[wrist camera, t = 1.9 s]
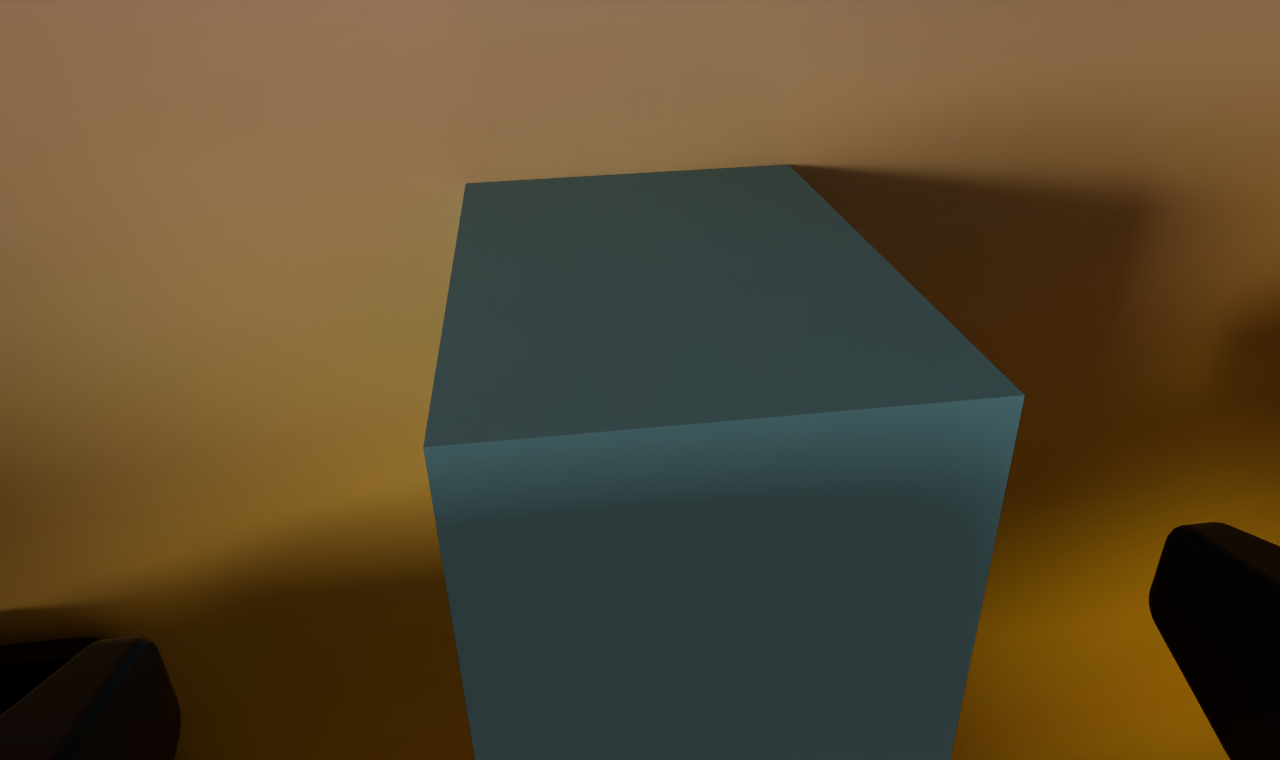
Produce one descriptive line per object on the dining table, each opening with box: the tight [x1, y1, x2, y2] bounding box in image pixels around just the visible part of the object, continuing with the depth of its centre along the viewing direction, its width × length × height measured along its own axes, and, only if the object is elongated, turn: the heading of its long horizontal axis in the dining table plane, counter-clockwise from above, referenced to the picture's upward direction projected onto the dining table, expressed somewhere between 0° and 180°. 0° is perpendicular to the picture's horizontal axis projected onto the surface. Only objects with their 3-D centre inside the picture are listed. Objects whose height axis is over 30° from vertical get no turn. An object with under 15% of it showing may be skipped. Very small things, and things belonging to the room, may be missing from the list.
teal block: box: [423, 165, 1025, 760], centre depth 10 cm, size 5×4×6 cm
